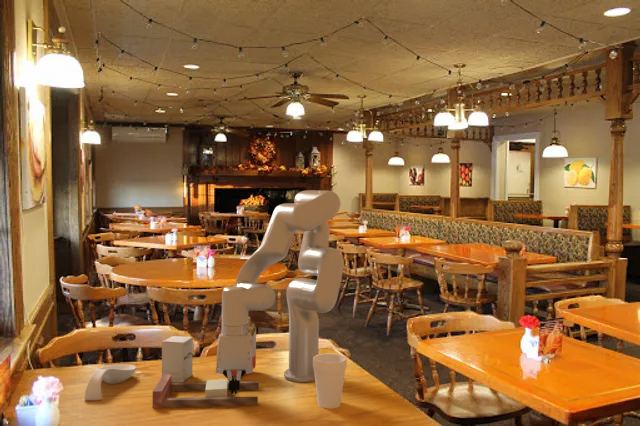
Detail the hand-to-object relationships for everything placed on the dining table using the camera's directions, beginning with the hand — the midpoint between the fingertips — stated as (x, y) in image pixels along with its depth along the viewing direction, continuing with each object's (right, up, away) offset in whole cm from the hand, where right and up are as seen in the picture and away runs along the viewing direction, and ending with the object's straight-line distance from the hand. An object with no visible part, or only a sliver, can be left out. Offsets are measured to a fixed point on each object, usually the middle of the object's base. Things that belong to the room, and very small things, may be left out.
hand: (234, 392), depth 158 cm
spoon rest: (-39, -1, +8) cm, 40 cm away
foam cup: (+27, -2, -5) cm, 28 cm away
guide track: (-7, -1, 0) cm, 7 cm away
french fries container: (-2, -1, +21) cm, 21 cm away
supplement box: (-20, -1, +16) cm, 26 cm away
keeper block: (-5, -2, 0) cm, 5 cm away
